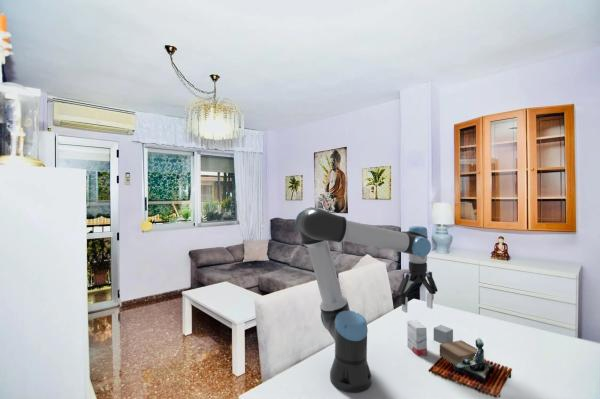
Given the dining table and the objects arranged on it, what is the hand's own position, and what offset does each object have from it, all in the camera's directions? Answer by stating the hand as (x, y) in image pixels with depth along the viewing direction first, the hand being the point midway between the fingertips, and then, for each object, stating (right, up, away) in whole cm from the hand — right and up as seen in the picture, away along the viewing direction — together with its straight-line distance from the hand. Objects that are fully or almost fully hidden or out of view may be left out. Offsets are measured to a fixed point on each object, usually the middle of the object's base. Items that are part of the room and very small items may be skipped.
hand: (417, 309), depth 132 cm
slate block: (+16, -18, +9) cm, 26 cm away
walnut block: (+15, -18, -7) cm, 25 cm away
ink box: (0, -18, 0) cm, 18 cm away
